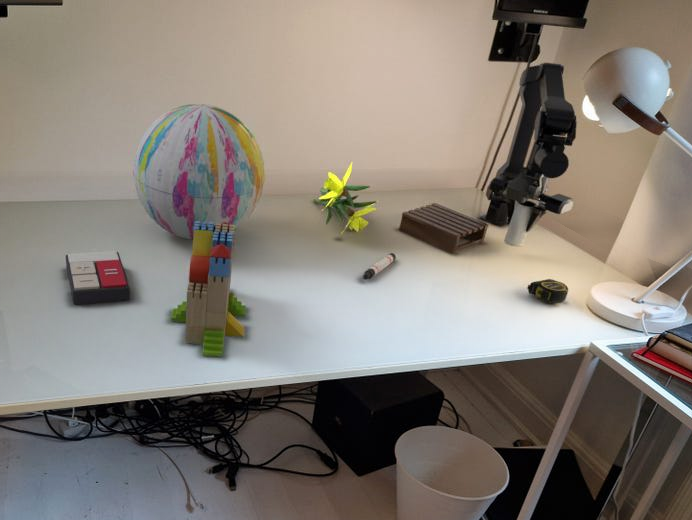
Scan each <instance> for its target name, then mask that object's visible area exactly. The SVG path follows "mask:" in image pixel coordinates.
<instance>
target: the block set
mask: <svg viewBox="0 0 692 520" xmlns="http://www.w3.org/2000/svg"><path fill="white" fill-rule="evenodd" d="M201 226H202V227H201ZM201 226H200V221H195V225H194V234H193V240H192V251H191V255H190V261H189V262H190V263H189V272H188V273H189V274H188V285H187V290H186V301H185V300H184V301H182V303H181V304H178V305H177V308H172V312H171V316H170V321H171V322H176V323H177V322H178V323H185V339H184V340H185V343H186V344H193V345H202V356H205V357H219V358H222V357H223V354H224V353H223V352H224V345H225V336H226V337H235V338H236V337H237V338H244V337H245V327H244V326H243V324H242V323H241V322H239V320H238V319H237V318H241V319H242V318H243V319H245V318H246V311H247V310H246V309H247V306H246V305H243V301H241V300H238V296H234V292H231V291H230V289H231V280H232V269H233V268H232V267H233V259H234V258H233V257H234V244H235V231H236V229H235V225H229V224H228V223H226V222H223V223H221V224H219V223H216V225H215V226H214V223H213V222H209V226H208V227H207V222H203V223H202V225H201Z"/></svg>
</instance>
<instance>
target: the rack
mask: <svg viewBox="0 0 692 520" xmlns="http://www.w3.org/2000/svg"><path fill="white" fill-rule="evenodd" d="M489 227H490V224H489V223H488V222H487V223H486V222H484V221H483V220H482V221H481V220H479V219H478V218H477V219H476V218H475V217H474V218H473V217H472V216H469V215H466V214H464V213H463V212H462V213H461V212H459V211H456V210H454V209H451V208H449V207H446V206H444V205H441V204H439V203H436V202H433V203H431V204H426V205H424V206H420V207H416V208H414V209H409V210H408V211H403V212H402V213H401V219H400V223H399V228H398V231H400V232H402V233H404V234H407V235H409V236H411V237H413V238H415V239H417V240H419V241H422V242H424V243H426V244H429V245H431V246H433V247H435V248H438V249H440V250H442V251H444V252H447V253H448V254H451V255H455V254H456V253H457V251H460V250H463V249H465V248H468V247H471V246H474V245H476V244H483V243H484V240H485V237H486V234H487V231H488V228H489ZM461 237H464V238H466V239H469V240H470V241H467V242H465V243H461V244H459V241H460V238H461Z"/></svg>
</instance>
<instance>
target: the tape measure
mask: <svg viewBox="0 0 692 520" xmlns="http://www.w3.org/2000/svg"><path fill="white" fill-rule="evenodd" d="M526 289H527V290H528V291H527V292H528V294H530V295H532V296H534V297H536V299H538V300H540V301H542V302H545V303H549V304H561V303H563V302H564V301H566V299H567V296H568V293H569V287H568V286H567V285H566V284H565V283H563V282H561V281H558V280H555V279H551V278H548V279H541V280H536V281H532V282H531V283H530V284H527V287H526Z"/></svg>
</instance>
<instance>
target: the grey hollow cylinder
mask: <svg viewBox="0 0 692 520" xmlns="http://www.w3.org/2000/svg"><path fill="white" fill-rule="evenodd" d="M537 205H538V204H537V203H536V202H534V201H532V200H529V199H527V201H526V202H524V203H519V202H517V204H516V207H515V210H514V213H513V216H512V219H511V221H510V224H508V227H507V231H506V233H505V237H504V243H505V244H507V245H509V246H510V247H517V248H519V247H523V246H524V244H525V241H526V238H527V235H528V232H527V231H526V229H527V226H528V223H529V221H530V218H531V216H532V214H533V207H534V206H537Z"/></svg>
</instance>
